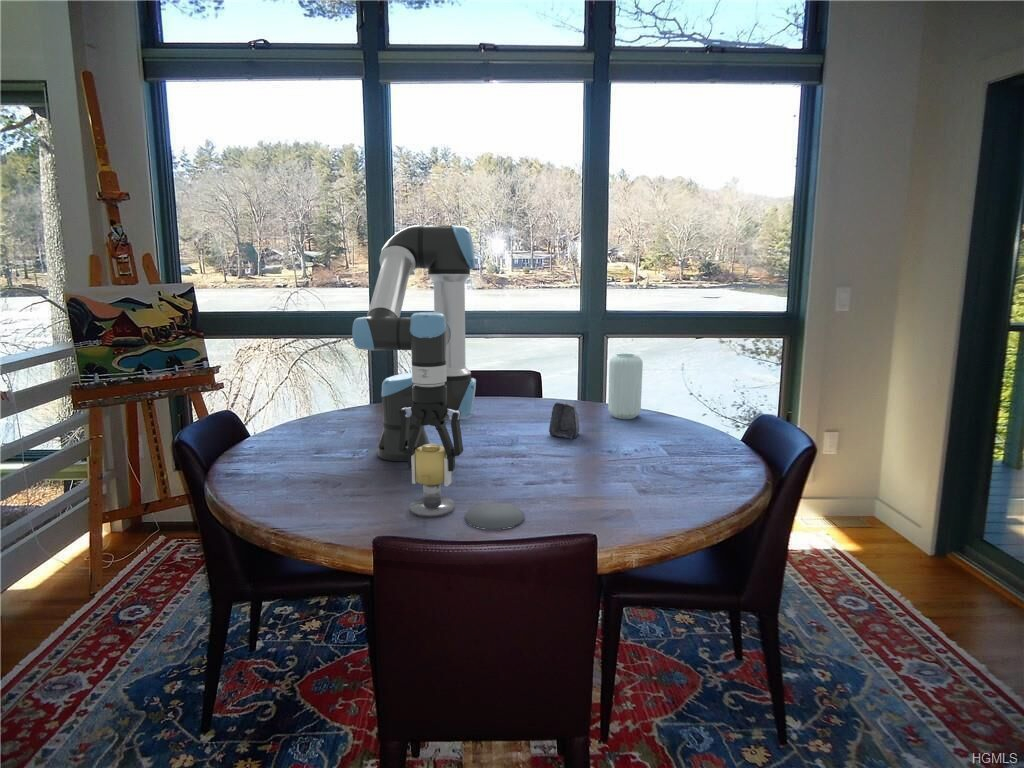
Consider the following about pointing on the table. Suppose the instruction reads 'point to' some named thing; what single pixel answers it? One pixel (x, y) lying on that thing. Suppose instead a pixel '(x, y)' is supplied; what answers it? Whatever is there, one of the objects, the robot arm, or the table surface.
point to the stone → (564, 420)
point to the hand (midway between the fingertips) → (431, 482)
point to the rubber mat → (494, 516)
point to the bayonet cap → (430, 464)
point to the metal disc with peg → (432, 503)
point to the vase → (625, 386)
